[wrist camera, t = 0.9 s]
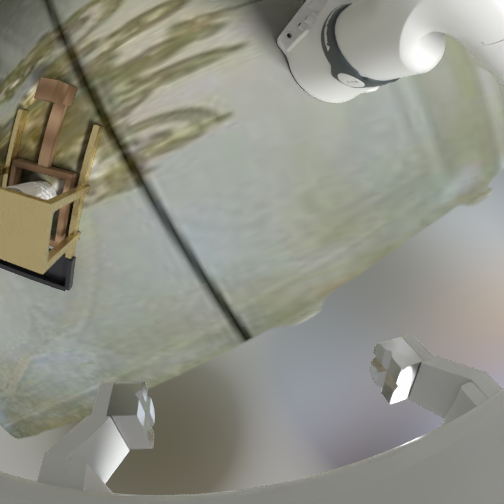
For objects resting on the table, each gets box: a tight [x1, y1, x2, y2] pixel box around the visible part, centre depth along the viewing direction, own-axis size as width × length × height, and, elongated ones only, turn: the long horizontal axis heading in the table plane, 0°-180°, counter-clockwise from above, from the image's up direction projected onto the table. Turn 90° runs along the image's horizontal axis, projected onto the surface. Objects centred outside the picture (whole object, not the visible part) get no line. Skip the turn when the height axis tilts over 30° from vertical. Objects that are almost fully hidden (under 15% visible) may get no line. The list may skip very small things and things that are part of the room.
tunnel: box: [0, 109, 103, 291], centre depth 35 cm, size 28×17×15 cm, turn 160°
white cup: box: [5, 181, 57, 214], centre depth 37 cm, size 8×8×10 cm
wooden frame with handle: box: [8, 78, 78, 247], centre depth 36 cm, size 25×12×8 cm, turn 160°
